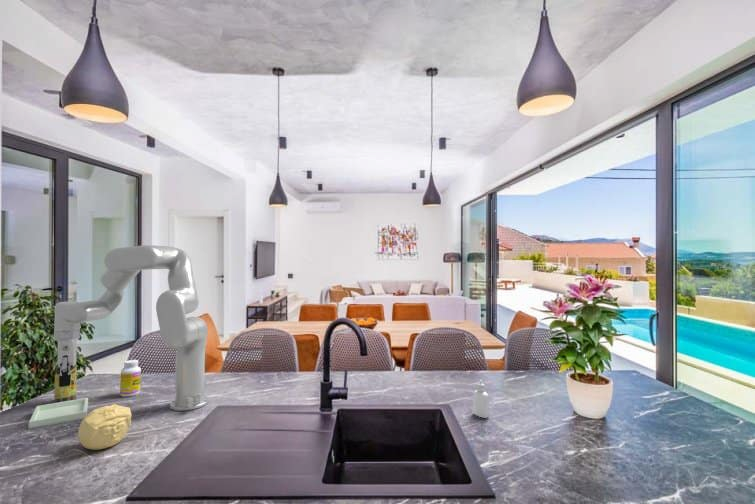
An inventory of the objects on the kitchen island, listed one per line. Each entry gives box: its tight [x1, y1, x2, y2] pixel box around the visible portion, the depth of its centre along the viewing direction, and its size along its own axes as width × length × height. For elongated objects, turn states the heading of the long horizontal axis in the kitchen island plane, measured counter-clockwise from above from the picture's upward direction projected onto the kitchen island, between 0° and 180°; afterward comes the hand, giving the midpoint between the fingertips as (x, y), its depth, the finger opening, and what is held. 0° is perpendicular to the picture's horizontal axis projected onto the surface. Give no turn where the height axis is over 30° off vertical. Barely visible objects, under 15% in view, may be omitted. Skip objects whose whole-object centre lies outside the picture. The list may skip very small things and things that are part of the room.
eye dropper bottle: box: [472, 379, 490, 419], centre depth 128 cm, size 4×6×12 cm
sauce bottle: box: [53, 347, 78, 403], centre depth 139 cm, size 6×6×20 cm
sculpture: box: [77, 403, 132, 451], centre depth 106 cm, size 12×12×11 cm
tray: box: [28, 397, 89, 430], centre depth 126 cm, size 16×14×2 cm
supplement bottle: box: [119, 359, 142, 398], centre depth 147 cm, size 7×7×13 cm
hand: (65, 383), depth 139 cm, fingers closed on sauce bottle, 6 cm apart
